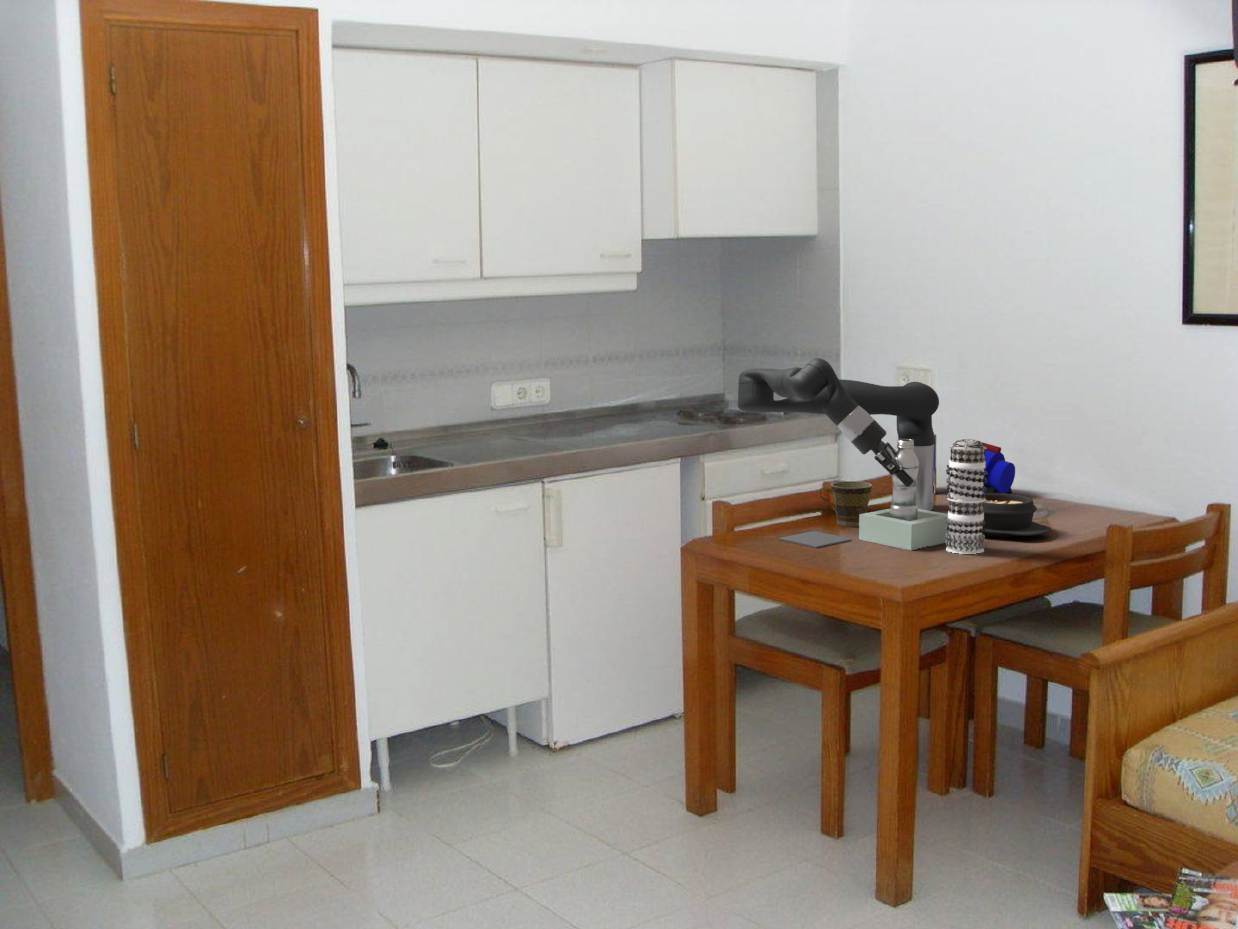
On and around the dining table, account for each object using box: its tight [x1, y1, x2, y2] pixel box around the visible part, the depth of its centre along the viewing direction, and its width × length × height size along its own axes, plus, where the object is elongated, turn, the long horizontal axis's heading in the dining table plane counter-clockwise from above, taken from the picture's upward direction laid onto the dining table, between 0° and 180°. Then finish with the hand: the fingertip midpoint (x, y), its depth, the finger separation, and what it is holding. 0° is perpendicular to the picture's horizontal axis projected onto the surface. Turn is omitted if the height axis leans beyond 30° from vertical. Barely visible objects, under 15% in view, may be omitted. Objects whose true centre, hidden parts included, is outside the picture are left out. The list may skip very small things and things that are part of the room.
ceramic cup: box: [818, 480, 873, 528], centre depth 322 cm, size 13×10×10 cm
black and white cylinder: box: [945, 438, 988, 555], centre depth 291 cm, size 9×9×25 cm
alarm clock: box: [981, 441, 1016, 494], centre depth 357 cm, size 12×12×15 cm
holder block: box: [858, 508, 949, 551], centre depth 304 cm, size 16×16×6 cm
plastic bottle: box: [889, 439, 919, 521], centre depth 302 cm, size 6×7×20 cm
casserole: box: [982, 493, 1052, 538], centre depth 310 cm, size 25×19×8 cm
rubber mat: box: [778, 530, 853, 549], centre depth 305 cm, size 12×12×1 cm
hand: (911, 481), depth 301 cm, fingers closed on plastic bottle, 6 cm apart
